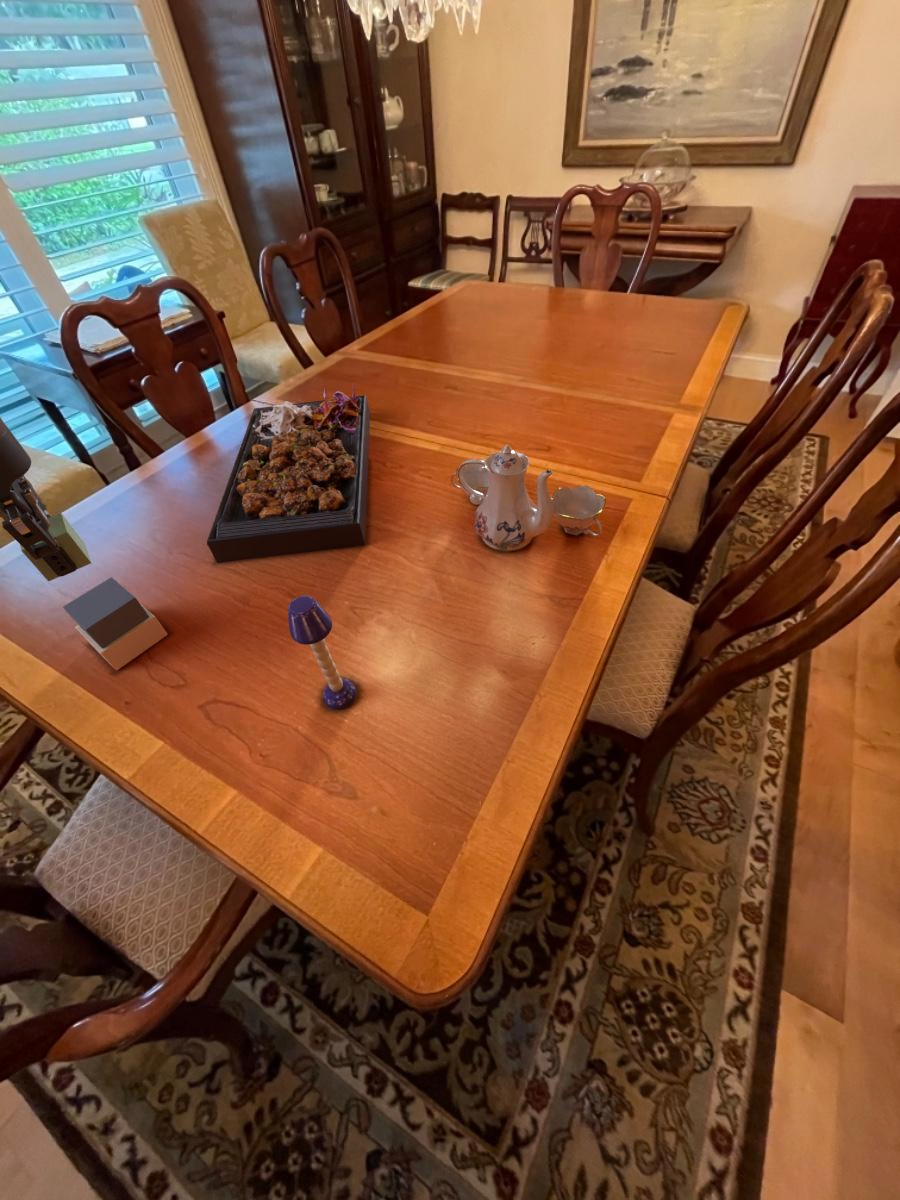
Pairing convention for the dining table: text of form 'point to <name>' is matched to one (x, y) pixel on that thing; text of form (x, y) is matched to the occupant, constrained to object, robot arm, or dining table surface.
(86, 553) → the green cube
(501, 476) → the chinaware
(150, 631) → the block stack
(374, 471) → the dining table surface
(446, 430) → the dining table surface
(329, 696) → the toy lamp
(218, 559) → the food platter
